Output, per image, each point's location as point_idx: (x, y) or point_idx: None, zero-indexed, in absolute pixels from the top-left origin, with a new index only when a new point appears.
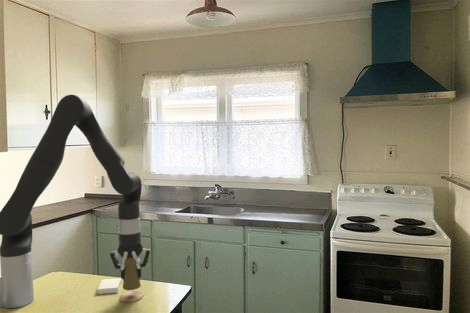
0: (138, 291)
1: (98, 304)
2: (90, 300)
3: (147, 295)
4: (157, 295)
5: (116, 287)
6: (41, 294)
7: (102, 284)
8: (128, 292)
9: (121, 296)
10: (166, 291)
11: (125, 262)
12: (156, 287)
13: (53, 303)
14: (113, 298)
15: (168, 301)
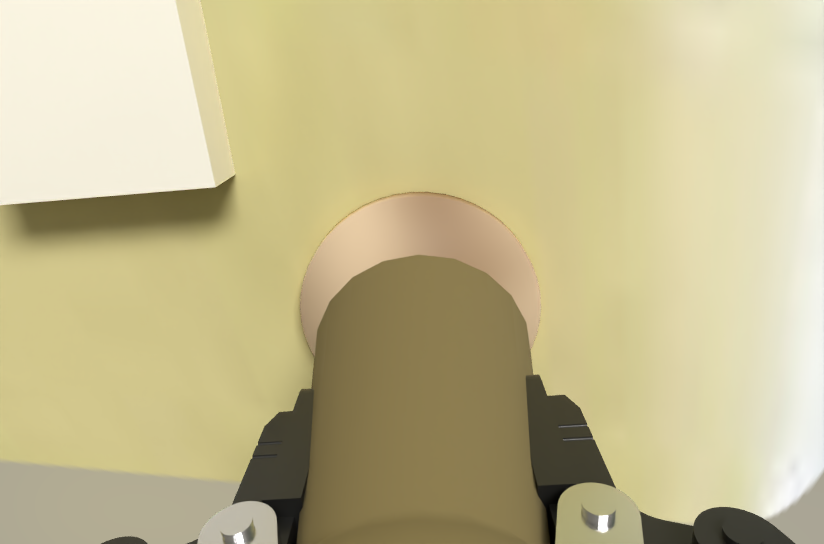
0: (476, 225)
1: (150, 413)
2: (30, 331)
3: (576, 284)
4: (679, 295)
5: (198, 183)
6: None
7: None
8: (367, 238)
9: (318, 325)
10: (784, 208)
11: None
12: (676, 75)
13: None
14: (241, 313)
15: (773, 424)
